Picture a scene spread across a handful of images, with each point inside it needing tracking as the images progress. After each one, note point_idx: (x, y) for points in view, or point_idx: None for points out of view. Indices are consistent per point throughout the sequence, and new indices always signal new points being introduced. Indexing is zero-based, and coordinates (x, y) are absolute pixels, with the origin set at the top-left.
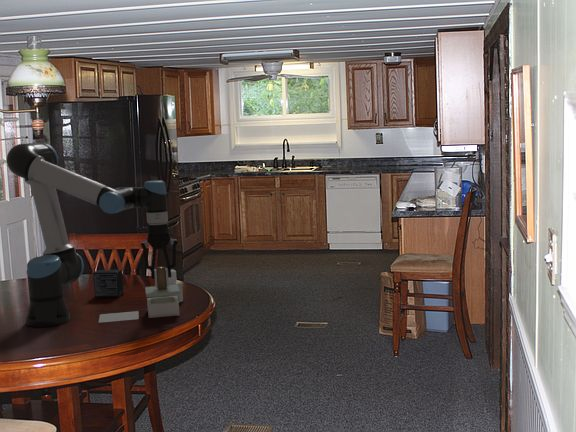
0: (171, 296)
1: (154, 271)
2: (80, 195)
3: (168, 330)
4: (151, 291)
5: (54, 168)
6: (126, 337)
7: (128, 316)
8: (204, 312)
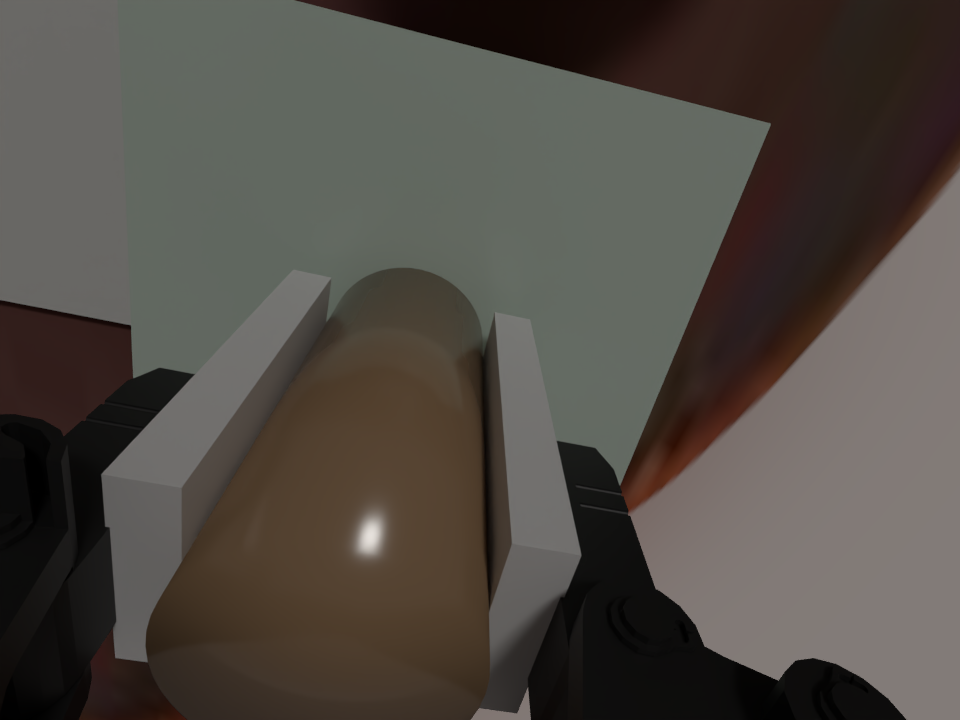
0: None
1: (132, 634)
2: None
3: None
4: None
5: None
6: (99, 667)
7: (64, 181)
8: (756, 394)
